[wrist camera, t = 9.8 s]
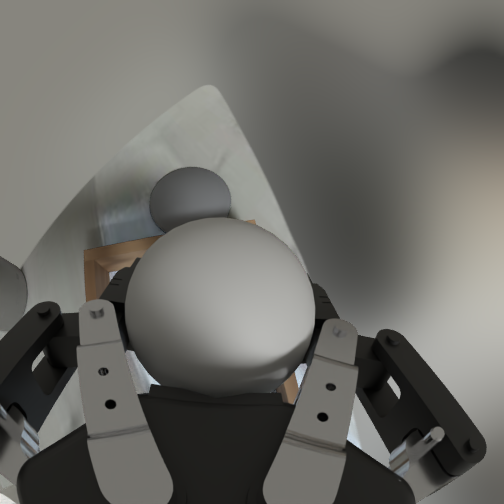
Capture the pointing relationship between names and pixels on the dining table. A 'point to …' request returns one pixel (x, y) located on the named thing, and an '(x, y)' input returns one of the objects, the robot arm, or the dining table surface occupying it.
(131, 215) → the dining table surface
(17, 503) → the white cup
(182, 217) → the mat
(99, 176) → the dining table surface
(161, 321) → the lightbulb
